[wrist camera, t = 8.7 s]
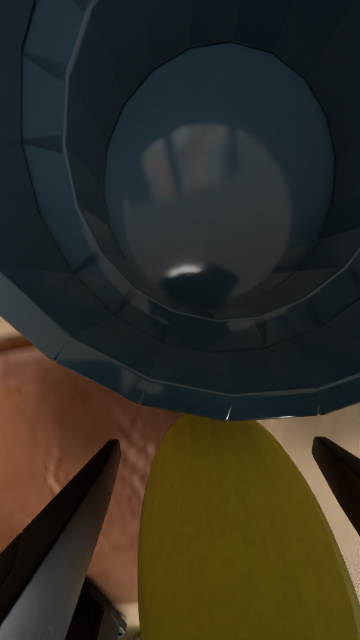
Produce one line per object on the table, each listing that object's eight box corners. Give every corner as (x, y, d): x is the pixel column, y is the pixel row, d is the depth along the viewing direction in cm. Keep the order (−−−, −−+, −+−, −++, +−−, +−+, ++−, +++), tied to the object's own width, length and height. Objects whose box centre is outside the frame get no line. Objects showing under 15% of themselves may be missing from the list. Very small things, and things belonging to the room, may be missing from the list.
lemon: (154, 375, 9) (-41, 1019, 1) (258, 369, 9) (866, 1061, 1) (163, 457, 10) (102, 1037, 2) (255, 453, 10) (518, 1062, 2)
